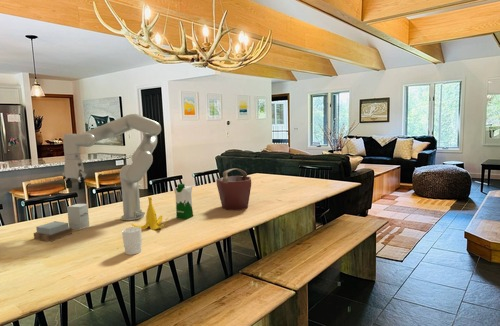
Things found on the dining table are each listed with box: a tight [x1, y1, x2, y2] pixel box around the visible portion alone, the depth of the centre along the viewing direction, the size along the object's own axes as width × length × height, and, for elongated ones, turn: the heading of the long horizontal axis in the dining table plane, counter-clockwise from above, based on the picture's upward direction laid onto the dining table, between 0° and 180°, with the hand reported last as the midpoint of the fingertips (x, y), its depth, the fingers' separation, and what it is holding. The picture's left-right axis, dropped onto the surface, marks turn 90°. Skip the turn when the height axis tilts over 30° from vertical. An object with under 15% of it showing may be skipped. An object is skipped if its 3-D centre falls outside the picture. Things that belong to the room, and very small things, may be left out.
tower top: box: [35, 221, 69, 235], centre depth 169 cm, size 10×10×3 cm
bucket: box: [216, 168, 252, 211], centre depth 217 cm, size 24×22×25 cm
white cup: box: [121, 226, 143, 256], centre depth 145 cm, size 8×8×10 cm
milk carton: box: [173, 183, 194, 220], centre depth 196 cm, size 9×9×20 cm
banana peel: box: [130, 196, 164, 231], centre depth 179 cm, size 17×19×17 cm
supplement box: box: [66, 203, 90, 231], centre depth 183 cm, size 7×7×13 cm
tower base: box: [33, 228, 73, 243], centre depth 170 cm, size 12×12×3 cm
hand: (75, 188), depth 181 cm, fingers open, 9 cm apart
